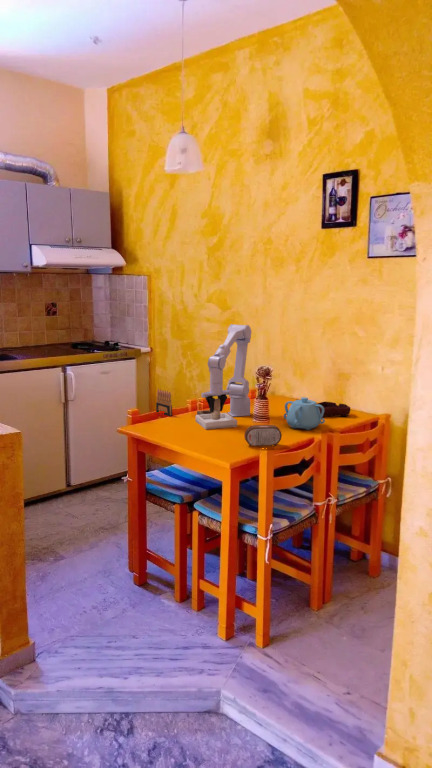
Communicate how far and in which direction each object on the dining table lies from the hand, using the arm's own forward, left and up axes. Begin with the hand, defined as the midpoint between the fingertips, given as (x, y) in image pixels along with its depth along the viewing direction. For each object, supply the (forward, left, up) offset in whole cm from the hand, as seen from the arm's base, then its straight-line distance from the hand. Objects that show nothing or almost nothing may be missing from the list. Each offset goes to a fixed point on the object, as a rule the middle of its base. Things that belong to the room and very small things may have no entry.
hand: (216, 411), depth 268 cm
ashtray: (-60, -2, -6) cm, 61 cm away
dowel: (0, 0, -3) cm, 4 cm away
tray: (0, 0, -6) cm, 6 cm away
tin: (-7, +38, -6) cm, 39 cm away
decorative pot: (-36, +17, -6) cm, 40 cm away
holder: (-1, -15, -6) cm, 16 cm away
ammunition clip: (+18, -26, -6) cm, 32 cm away
